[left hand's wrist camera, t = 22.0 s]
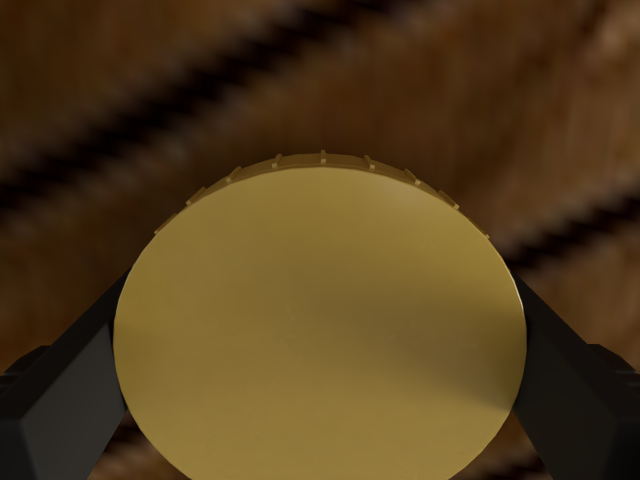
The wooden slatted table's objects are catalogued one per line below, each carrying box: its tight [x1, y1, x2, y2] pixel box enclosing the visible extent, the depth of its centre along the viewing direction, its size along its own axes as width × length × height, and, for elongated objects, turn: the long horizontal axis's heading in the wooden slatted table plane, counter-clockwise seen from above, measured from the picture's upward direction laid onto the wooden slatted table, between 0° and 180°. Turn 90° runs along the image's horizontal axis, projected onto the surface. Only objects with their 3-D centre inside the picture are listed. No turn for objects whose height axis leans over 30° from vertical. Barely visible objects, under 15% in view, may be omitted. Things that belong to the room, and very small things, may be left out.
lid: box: [113, 150, 527, 480], centre depth 11 cm, size 10×10×2 cm
